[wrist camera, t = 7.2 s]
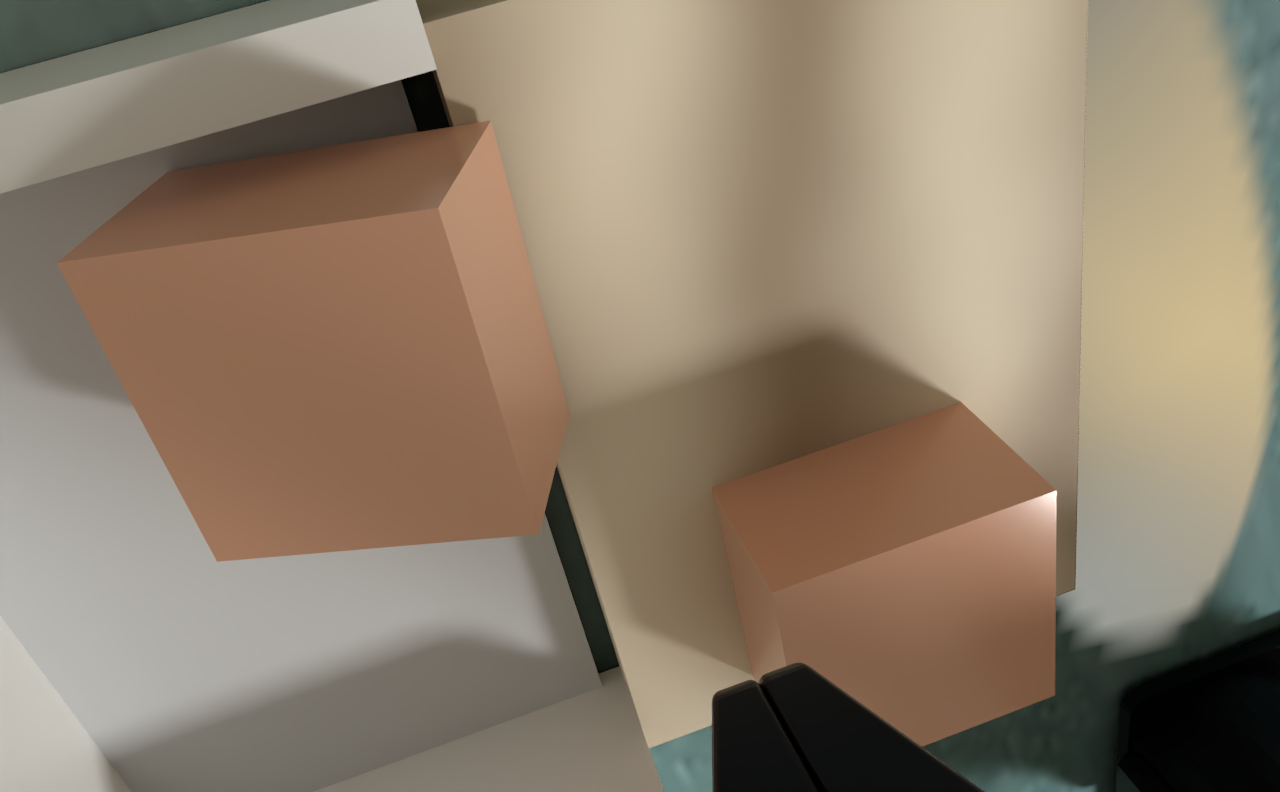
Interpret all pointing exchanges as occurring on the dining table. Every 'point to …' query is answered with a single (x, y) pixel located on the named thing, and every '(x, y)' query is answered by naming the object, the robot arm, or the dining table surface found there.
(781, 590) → the tile back
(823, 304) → the birch plate
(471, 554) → the bin
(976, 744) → the dining table surface
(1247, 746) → the robot arm
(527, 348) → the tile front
